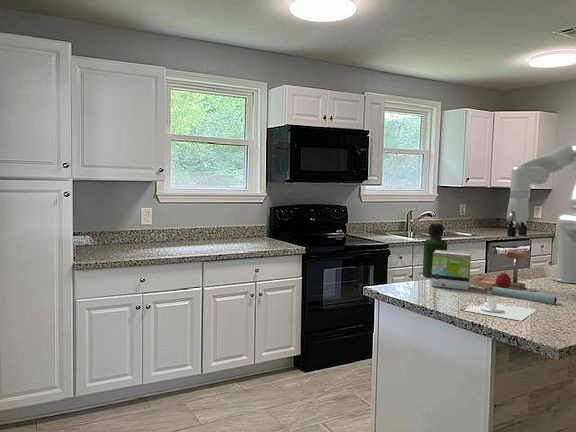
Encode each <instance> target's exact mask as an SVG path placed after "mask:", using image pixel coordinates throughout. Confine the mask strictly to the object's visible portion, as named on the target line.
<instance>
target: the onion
mask: <svg viewBox="0 0 576 432" xmlns="http://www.w3.org/2000/svg"><path fill="white" fill-rule="evenodd" d="M495 279H496V284H497V286H498V287H500V288H506V289H507V288H508V287H509V286H510V285H511V281H512V279H511V277H510V276H509V275H508V274H507V273H506V271H505V270H504V271H503V270H502V272H501V273H500V274H498V275H497V277H495Z"/></svg>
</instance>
